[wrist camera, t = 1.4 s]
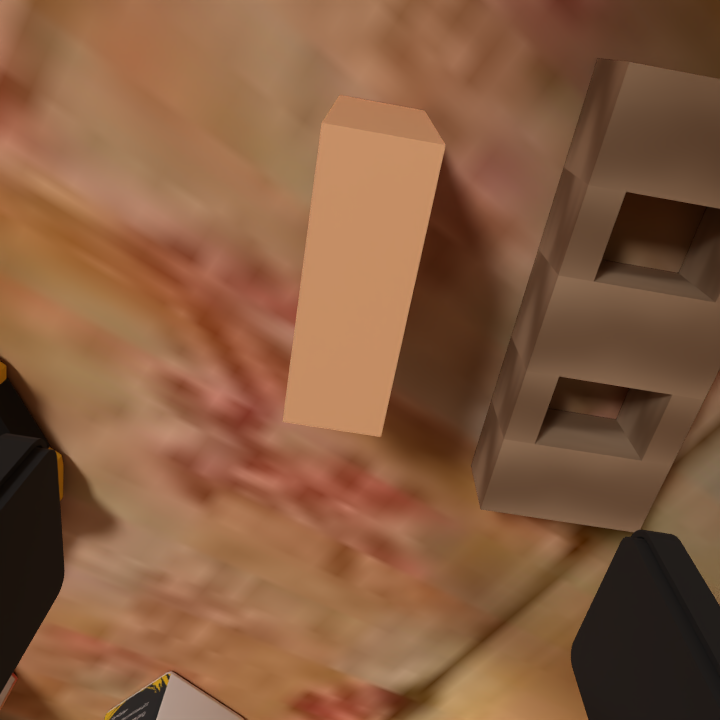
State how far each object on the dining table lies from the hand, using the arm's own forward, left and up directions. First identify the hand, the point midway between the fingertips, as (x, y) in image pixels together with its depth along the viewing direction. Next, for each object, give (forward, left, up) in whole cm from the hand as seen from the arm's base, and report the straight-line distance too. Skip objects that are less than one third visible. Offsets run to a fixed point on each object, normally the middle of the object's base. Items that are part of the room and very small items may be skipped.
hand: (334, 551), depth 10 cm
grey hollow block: (+2, +12, -20) cm, 23 cm away
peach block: (0, 0, -20) cm, 20 cm away
